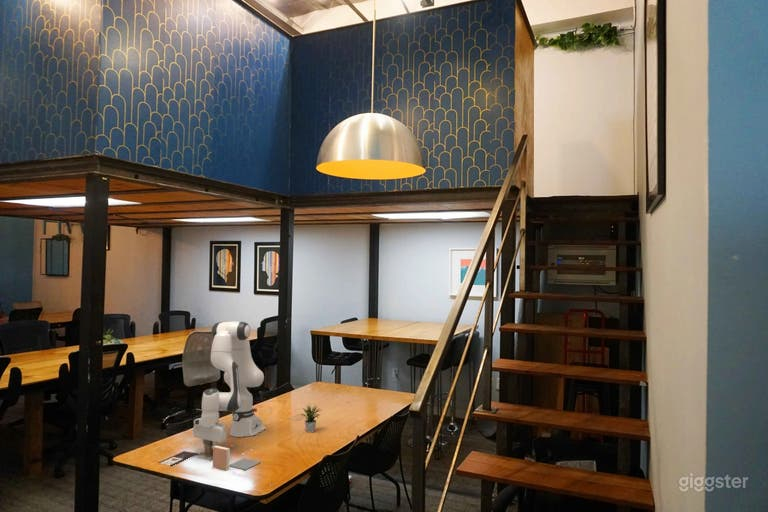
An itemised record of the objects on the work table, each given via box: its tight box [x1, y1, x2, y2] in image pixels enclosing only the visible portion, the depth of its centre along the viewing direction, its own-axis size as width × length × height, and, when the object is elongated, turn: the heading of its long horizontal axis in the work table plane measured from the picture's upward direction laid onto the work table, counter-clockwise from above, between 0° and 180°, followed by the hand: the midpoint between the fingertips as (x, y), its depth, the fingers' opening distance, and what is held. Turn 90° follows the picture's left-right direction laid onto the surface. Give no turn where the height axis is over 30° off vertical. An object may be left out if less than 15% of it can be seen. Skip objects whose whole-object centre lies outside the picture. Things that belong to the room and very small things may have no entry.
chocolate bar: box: [158, 450, 199, 467], centre depth 250 cm, size 9×1×18 cm
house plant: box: [300, 403, 323, 433], centre depth 298 cm, size 14×14×16 cm
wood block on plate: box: [198, 440, 213, 461], centre depth 253 cm, size 6×8×13 cm
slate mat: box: [229, 458, 261, 471], centre depth 244 cm, size 11×11×1 cm
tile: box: [212, 445, 231, 472], centre depth 239 cm, size 2×9×10 cm, turn 64°
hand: (209, 448), depth 253 cm, fingers open, 4 cm apart
